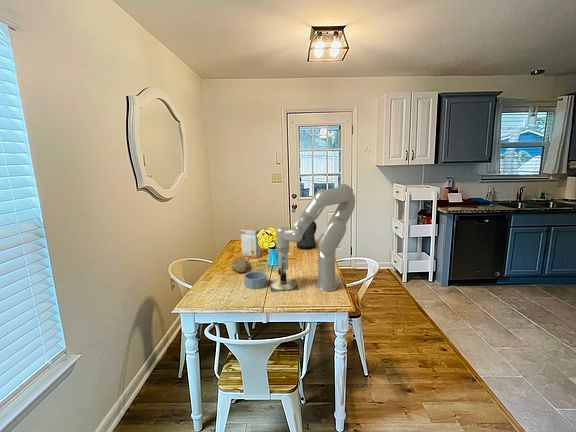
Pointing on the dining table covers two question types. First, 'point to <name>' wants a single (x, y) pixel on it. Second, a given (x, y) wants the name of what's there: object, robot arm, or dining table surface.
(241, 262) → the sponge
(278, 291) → the mat
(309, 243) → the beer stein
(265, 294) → the dining table surface
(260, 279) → the cup
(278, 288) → the lid
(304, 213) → the robot arm
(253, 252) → the cracker box
